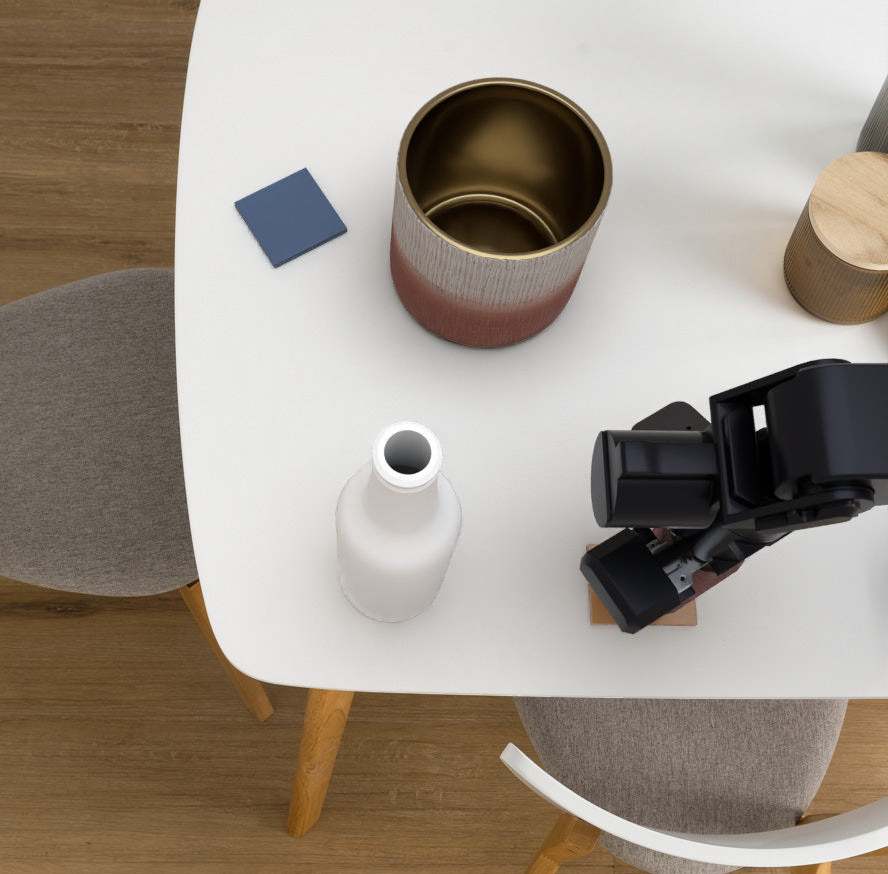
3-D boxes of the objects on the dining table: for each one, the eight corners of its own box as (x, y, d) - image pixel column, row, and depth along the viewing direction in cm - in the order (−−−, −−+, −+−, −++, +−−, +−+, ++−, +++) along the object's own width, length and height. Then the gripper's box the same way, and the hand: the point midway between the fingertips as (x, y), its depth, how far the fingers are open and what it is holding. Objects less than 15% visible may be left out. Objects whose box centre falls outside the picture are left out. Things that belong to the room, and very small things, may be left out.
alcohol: (334, 530, 84) (321, 389, 56) (433, 518, 85) (472, 373, 56) (346, 630, 82) (339, 535, 53) (448, 617, 82) (496, 517, 54)
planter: (561, 185, 96) (599, 70, 80) (585, 348, 90) (631, 256, 75) (382, 193, 95) (387, 78, 80) (396, 358, 89) (403, 267, 74)
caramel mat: (688, 546, 85) (690, 545, 84) (695, 626, 83) (697, 624, 82) (586, 545, 84) (587, 543, 84) (590, 625, 82) (592, 623, 82)
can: (690, 546, 82) (753, 494, 68) (690, 620, 80) (754, 581, 66) (619, 538, 82) (667, 485, 68) (617, 612, 80) (665, 572, 66)
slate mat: (306, 170, 95) (305, 166, 95) (347, 231, 93) (347, 228, 93) (234, 205, 94) (233, 202, 93) (275, 268, 92) (274, 265, 91)
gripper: (792, 324, 63) (710, 416, 78) (556, 463, 60) (518, 531, 75) (903, 462, 60) (797, 530, 75) (662, 616, 57) (601, 655, 72)
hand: (677, 557), depth 74 cm, fingers closed on can, 5 cm apart
